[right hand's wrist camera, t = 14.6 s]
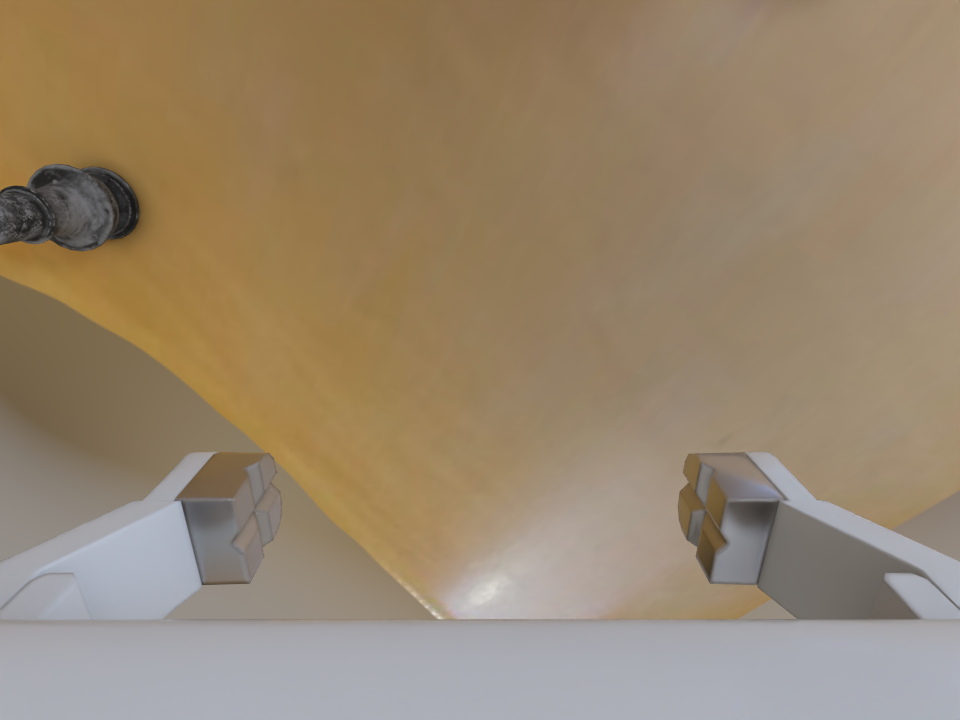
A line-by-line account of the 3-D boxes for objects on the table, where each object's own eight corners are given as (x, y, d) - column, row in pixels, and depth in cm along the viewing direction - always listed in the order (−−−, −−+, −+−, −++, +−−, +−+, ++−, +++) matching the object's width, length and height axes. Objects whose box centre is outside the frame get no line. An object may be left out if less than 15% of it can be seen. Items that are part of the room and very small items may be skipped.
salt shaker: (131, 256, 42) (2, 296, 31) (55, 219, 41) (-106, 246, 30) (152, 187, 40) (22, 203, 29) (73, 147, 39) (-93, 147, 28)
